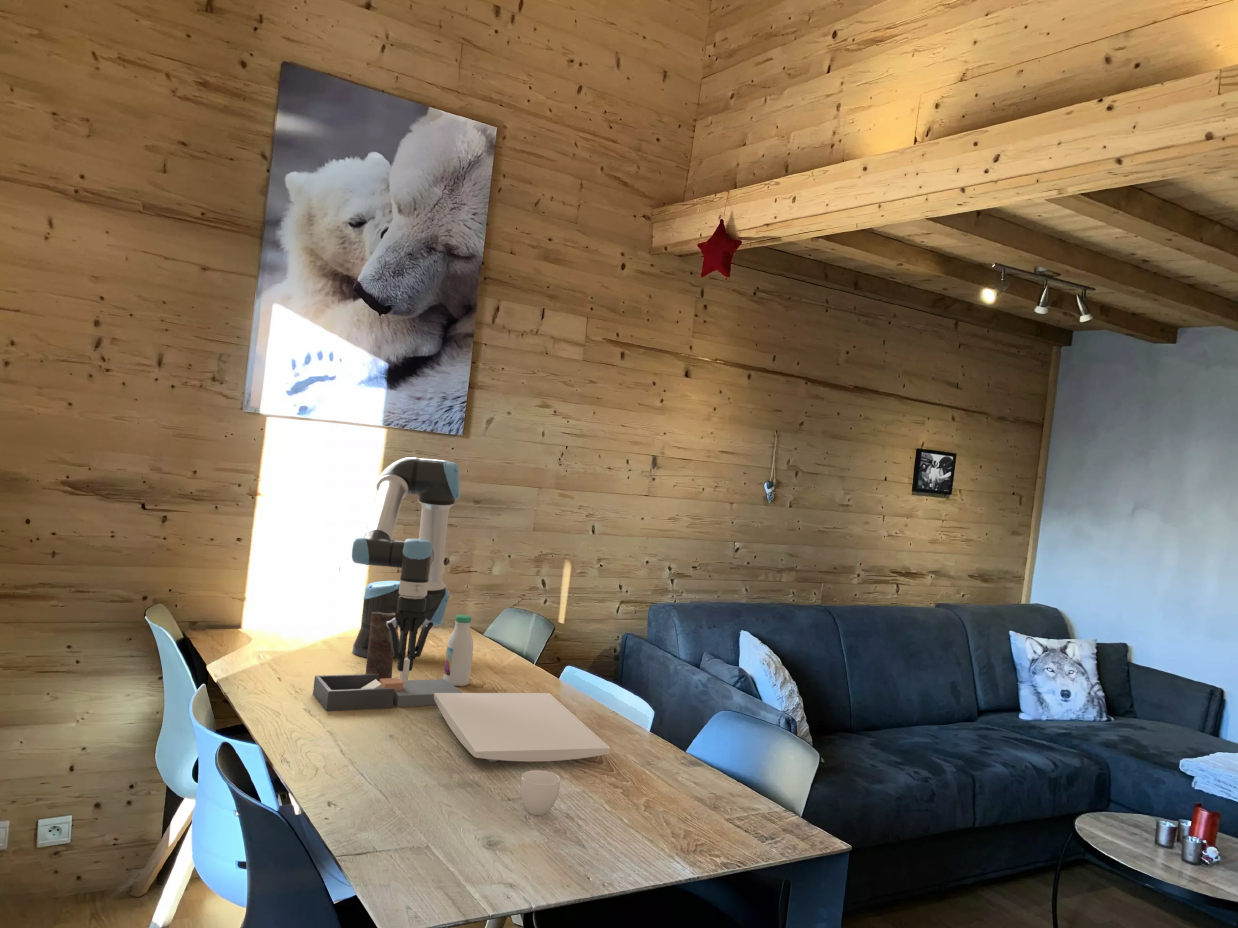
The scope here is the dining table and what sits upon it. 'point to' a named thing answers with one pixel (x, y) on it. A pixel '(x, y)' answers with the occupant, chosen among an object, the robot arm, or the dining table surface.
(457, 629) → the milk bottle
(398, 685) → the tile terracotta
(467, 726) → the board
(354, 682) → the box
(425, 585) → the robot arm
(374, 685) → the tile white
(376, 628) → the candle
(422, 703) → the slate board
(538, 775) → the cup
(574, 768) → the dining table surface
